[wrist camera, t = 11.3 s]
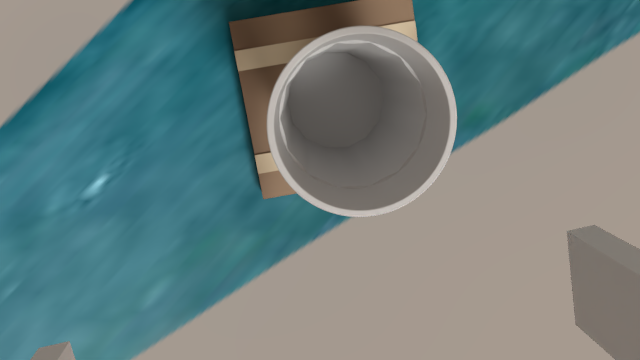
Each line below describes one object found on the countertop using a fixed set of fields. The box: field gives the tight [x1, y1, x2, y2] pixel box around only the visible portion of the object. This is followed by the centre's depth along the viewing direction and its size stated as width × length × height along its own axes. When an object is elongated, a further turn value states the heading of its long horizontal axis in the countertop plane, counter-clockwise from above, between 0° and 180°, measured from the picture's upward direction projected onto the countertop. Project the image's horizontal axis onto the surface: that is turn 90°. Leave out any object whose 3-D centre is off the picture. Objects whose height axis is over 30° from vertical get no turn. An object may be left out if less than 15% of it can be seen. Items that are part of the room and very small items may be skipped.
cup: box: [267, 26, 457, 217], centre depth 30 cm, size 8×8×12 cm
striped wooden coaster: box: [229, 0, 417, 199], centre depth 37 cm, size 11×11×2 cm
